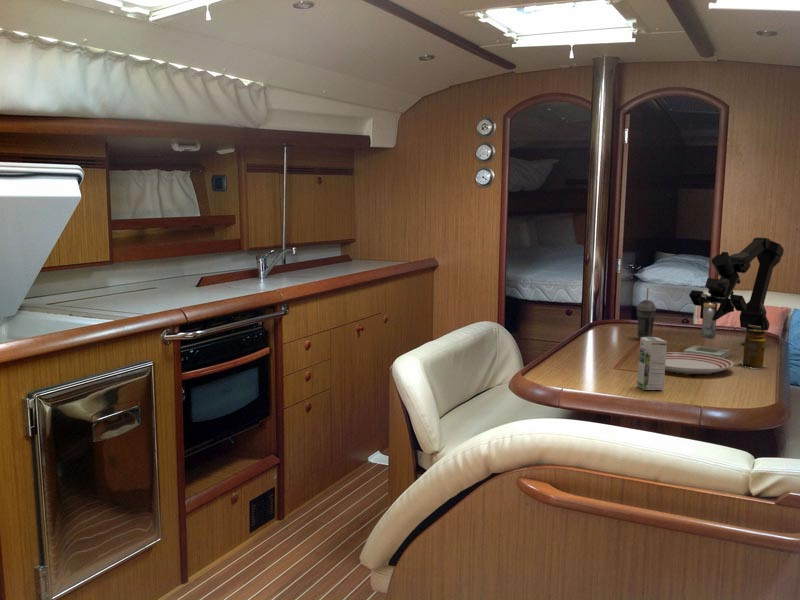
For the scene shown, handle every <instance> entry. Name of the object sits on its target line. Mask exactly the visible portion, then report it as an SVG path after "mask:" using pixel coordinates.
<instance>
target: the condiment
mask: <svg viewBox="0 0 800 600" xmlns="http://www.w3.org/2000/svg"><path fill="white" fill-rule="evenodd" d="M765 332H766V331H765V330H764V331H763V330H759V329H748V330H747V334H746V333H745V335H746V338H745V337H744V342H745V343H744V345H743V354H742V355H743V357H742V363H735V364H734V363H733V366H736V367H740V368H744V367H745V366H746V367H747V368H746V367H745V369H749V367H752V368H750V369H749V370H759V369H763V368H762V367H763V366H764V367H765V366H767V365H764V359H765V358H764V357H765V348H766V338H765V334H766V333H765ZM742 364H743V365H742ZM766 368H769V365H768V366H767V367H766Z"/></svg>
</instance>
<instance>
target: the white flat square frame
mask: <svg viewBox="0 0 800 600" xmlns="http://www.w3.org/2000/svg"><path fill="white" fill-rule="evenodd" d="M683 353H694V354H703V355H710V356H715V357H720V358H724V359H726V358H728V357H730V356H731V349H725V348H718V347H711V346H704V345H703V346H702V345H696V344H694V345H692V346H690V347H688V348H686V349H684V350H683Z"/></svg>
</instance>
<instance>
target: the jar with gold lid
mask: <svg viewBox="0 0 800 600" xmlns="http://www.w3.org/2000/svg"><path fill="white" fill-rule="evenodd" d="M717 310H718V303H713V302H704V305H703V318H702V319H701V320H702V323H701V338H702V339H709V340H711V339H716V330H717V329H716V327H717V320H716V321H714V320H713V318H714V315H715V314H716V312H717Z"/></svg>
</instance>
